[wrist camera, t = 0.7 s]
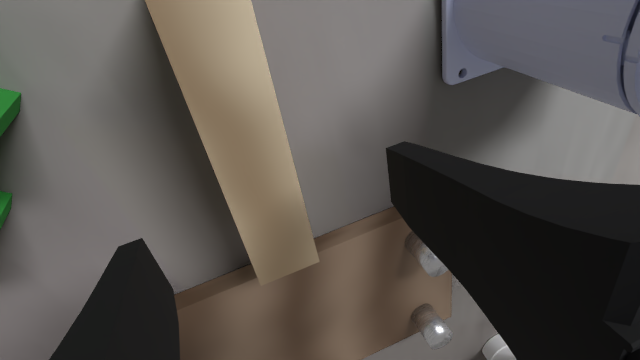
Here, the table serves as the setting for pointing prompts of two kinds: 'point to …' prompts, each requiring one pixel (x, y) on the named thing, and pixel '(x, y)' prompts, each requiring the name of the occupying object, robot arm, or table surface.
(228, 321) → the peg base
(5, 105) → the green block
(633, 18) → the robot arm
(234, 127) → the pine shelf board
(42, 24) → the table surface
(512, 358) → the pipe fitting
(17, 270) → the table surface
